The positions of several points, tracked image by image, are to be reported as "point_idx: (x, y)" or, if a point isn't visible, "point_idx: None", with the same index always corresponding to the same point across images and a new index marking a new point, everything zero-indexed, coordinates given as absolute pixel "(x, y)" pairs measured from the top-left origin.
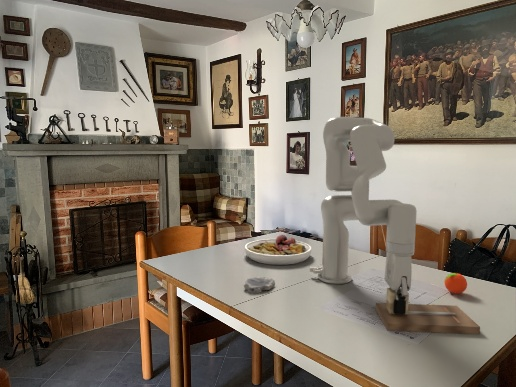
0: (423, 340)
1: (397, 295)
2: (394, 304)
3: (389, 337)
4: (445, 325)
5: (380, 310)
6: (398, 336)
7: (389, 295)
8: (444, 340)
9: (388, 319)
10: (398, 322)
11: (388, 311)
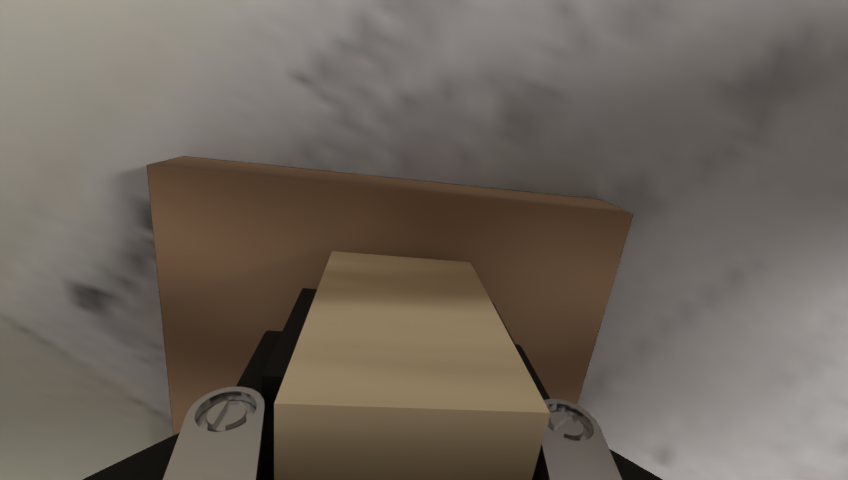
0: (60, 359)
1: (170, 476)
2: (281, 340)
3: (44, 124)
4: None
5: (452, 198)
6: (84, 208)
7: (361, 357)
8: (95, 472)
9: (241, 203)
10: (183, 271)
11: (377, 255)
